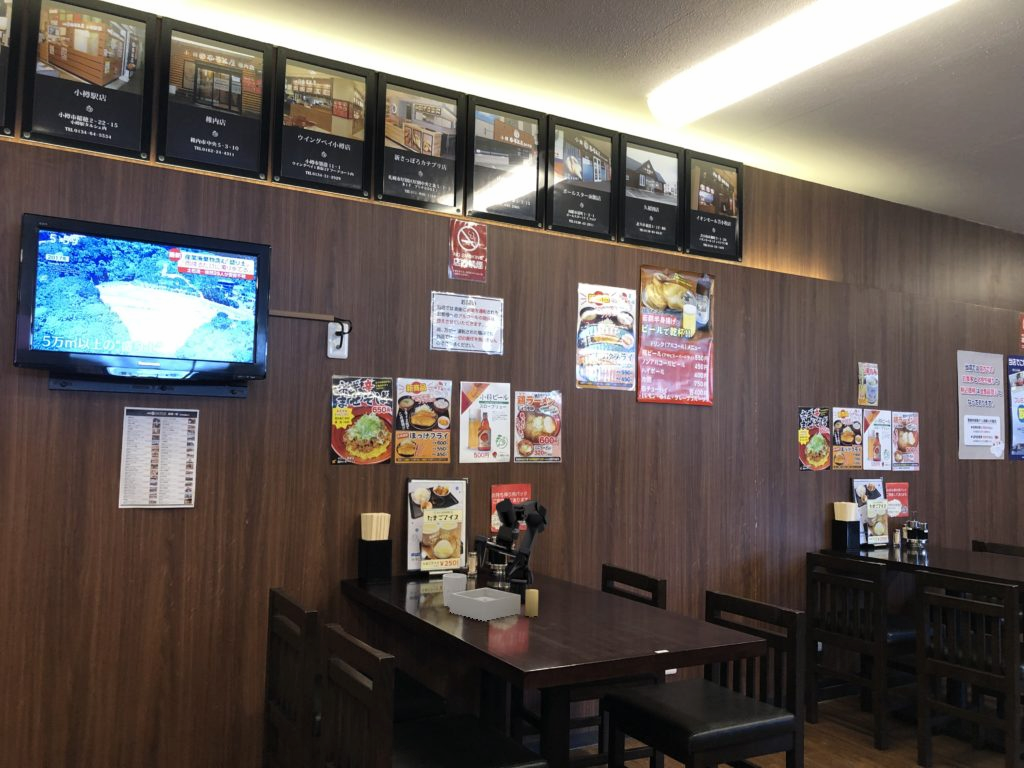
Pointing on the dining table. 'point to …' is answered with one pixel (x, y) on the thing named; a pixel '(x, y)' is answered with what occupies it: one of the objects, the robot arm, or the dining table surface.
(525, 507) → the robot arm
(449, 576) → the white cup
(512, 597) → the socket box
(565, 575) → the dining table surface
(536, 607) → the peg
